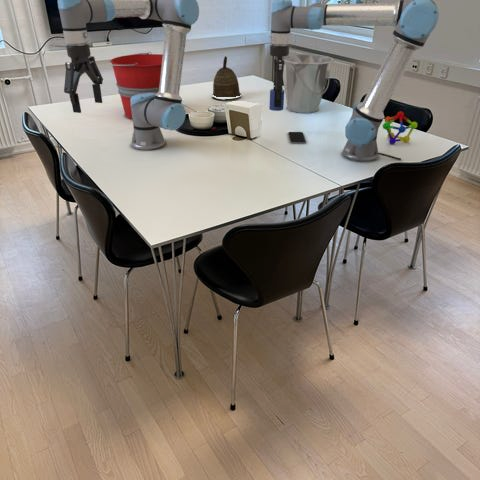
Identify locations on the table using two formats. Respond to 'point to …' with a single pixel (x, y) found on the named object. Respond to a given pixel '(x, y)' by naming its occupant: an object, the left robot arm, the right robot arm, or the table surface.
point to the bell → (225, 82)
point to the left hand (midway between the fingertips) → (88, 107)
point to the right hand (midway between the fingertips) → (276, 104)
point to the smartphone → (296, 137)
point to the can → (272, 97)
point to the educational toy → (398, 128)
